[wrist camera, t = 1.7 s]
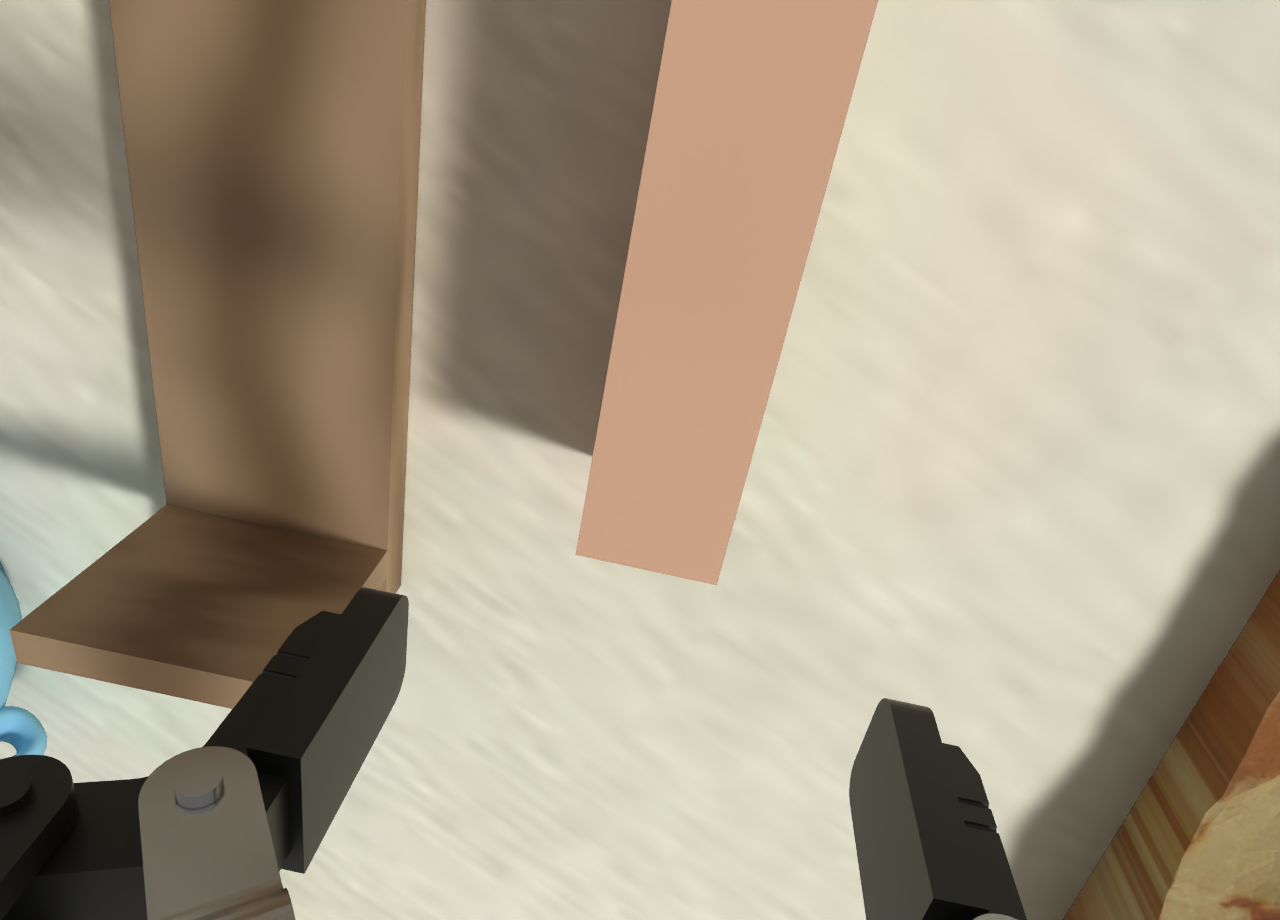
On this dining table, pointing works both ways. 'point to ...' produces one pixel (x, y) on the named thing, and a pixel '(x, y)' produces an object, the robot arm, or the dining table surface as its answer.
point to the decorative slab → (1207, 803)
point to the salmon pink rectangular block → (715, 269)
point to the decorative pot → (11, 721)
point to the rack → (258, 335)
